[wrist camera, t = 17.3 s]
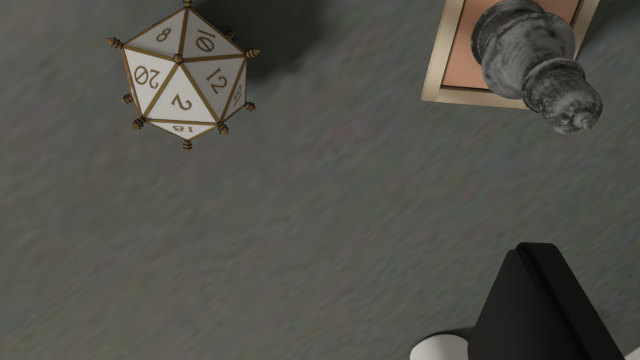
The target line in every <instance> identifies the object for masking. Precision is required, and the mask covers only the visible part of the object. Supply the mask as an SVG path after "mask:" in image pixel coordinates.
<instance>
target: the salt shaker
mask: <svg viewBox="0 0 640 360" xmlns="http://www.w3.org/2000/svg"><path fill="white" fill-rule="evenodd" d="M471 50H472V54H473V56H474V58H475V60H476V61H477V63H478V64H479V65H481V70H482V75H483V79H484V81H485V82H486V84H487V86H488V87H489V89H490V90H492V91H493V92H494V93H495V94H496V95H498V96H501V97H503V98H506V99H513V100H522V101H523V102H524V104H525V106H526V107H527V108H529V109H530V110H531V111H534V112H536V113H540V114H541V115H542V116H543V117H544V119H545V120H546V121H547V123H548V124H549V125H550V127H552V128H553V129H554V130H556V131H557V132H559V133H562V134H577V133H581V132H584V131H586V130H589V129H591V128H592V126H593V125H594V124H595V123H596V122H597V121H598V119H599V117H600V115H601V113H602V108H603V104H602V100H601V98H600V96H599V94H598V92H597V91H596V90H595V89H594V88H593V87H592V86H591V85H590V84H589V83H588V82H587V81H586V80H585V71H584V69H583V68H582V66H581V65H580V64H579V63H578V62H577V61H576V60H574V55H575V50H576V41H575V35H574V33H573V31H572V28H571V26H570V25H569V24H568V23H567V22H566V21H565V20H564V19H563V18H561V17H559V16H557V15H555V14H553V13H548V12H545V10H544V9H543V8H542V7H541V6H540V5H539V4H538V3H537V2H535V1H532V0H503V1H500V2H498V3H496V4H495V5H493V6H492V7H490V8H489V9H487V10H486V12H485V13H484V14H483V15H482V16H481V17H480V18H479V20H478V21H477V23H476V25H475V26H474V29H473V32H472V35H471Z"/></svg>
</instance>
